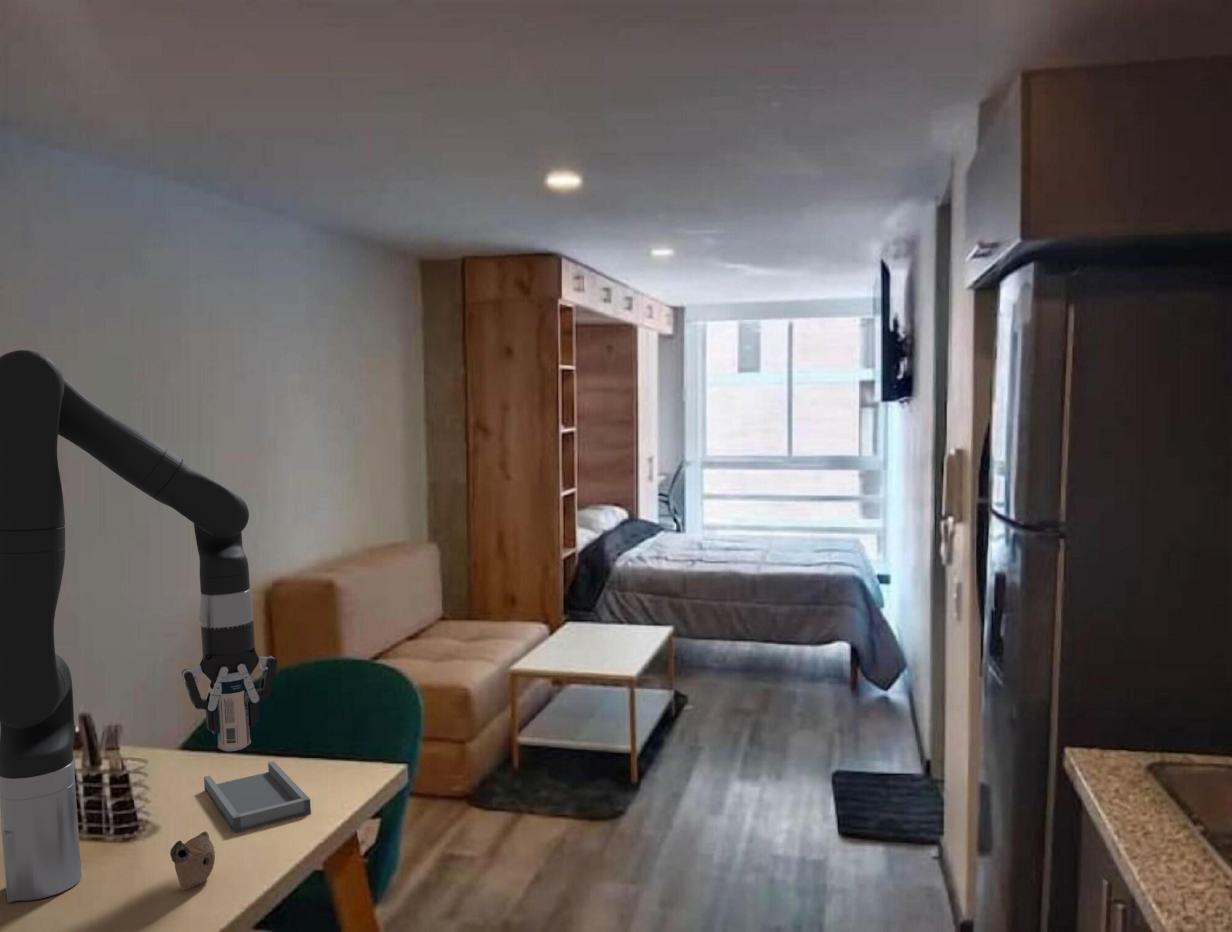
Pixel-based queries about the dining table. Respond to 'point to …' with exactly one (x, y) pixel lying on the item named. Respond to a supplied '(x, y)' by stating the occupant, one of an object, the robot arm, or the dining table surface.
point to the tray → (258, 799)
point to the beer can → (233, 714)
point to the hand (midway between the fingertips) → (233, 728)
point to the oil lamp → (193, 860)
